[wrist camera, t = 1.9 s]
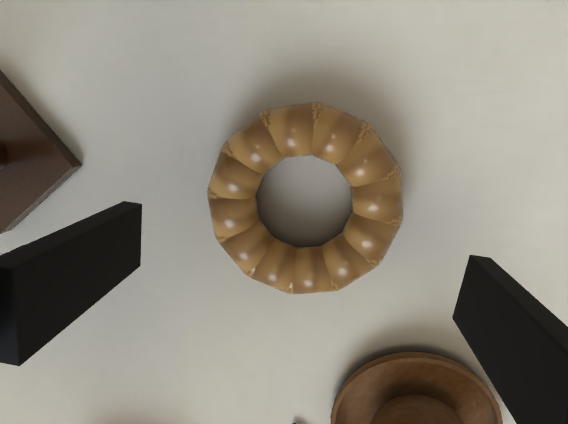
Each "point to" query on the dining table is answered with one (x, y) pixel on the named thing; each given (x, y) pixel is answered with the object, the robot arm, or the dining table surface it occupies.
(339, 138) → the segmented ring
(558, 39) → the dining table surface
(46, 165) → the peg
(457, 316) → the robot arm
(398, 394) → the place setting
